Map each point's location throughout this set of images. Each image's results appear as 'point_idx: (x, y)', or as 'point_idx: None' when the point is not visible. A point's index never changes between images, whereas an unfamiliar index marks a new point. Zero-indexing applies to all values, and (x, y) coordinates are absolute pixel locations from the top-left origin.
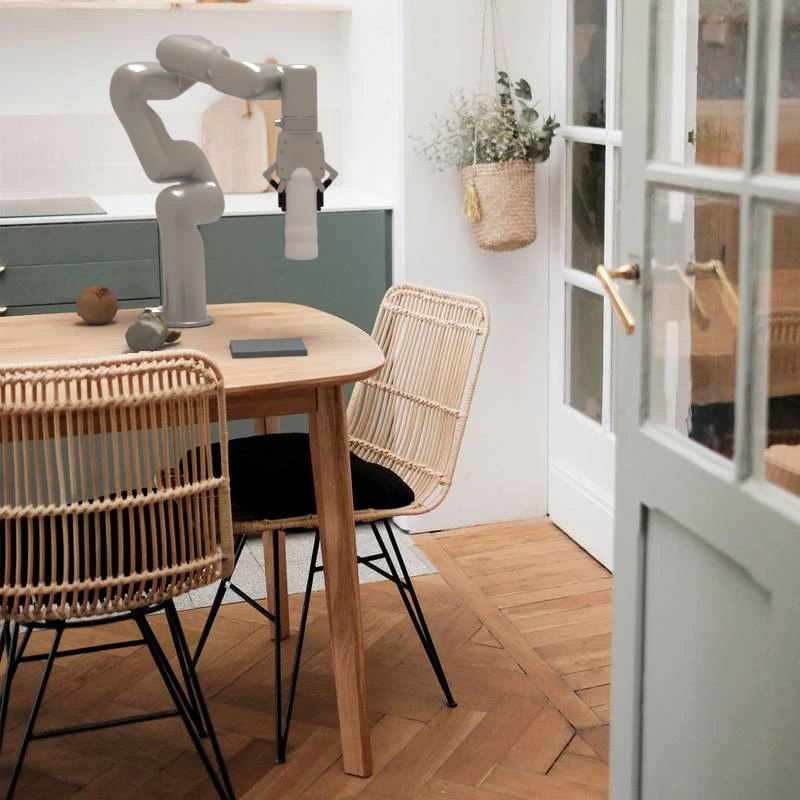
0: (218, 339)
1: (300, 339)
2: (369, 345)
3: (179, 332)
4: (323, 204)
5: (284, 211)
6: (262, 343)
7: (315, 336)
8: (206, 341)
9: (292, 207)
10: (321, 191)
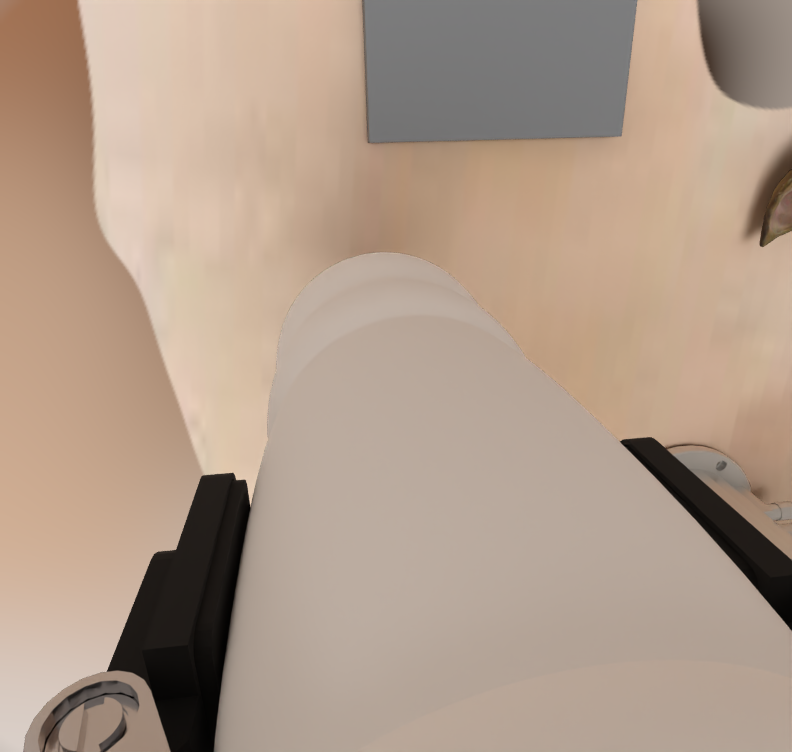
0: (626, 259)
1: (372, 100)
2: (97, 41)
3: (770, 231)
4: (154, 559)
5: (624, 439)
6: (519, 41)
7: (308, 263)
8: (667, 231)
9: (572, 398)
10: (124, 679)
